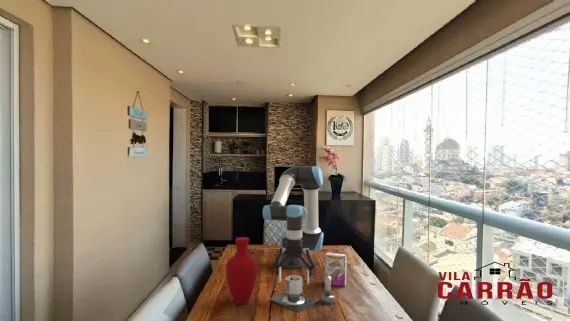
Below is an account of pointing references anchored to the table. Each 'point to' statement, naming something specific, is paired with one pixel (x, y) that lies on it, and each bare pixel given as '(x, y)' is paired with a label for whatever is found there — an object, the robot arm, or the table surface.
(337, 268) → the candy bar box
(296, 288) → the bushing
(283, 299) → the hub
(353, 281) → the table surface
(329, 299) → the stand
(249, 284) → the vase
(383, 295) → the table surface
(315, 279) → the table surface
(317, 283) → the table surface
